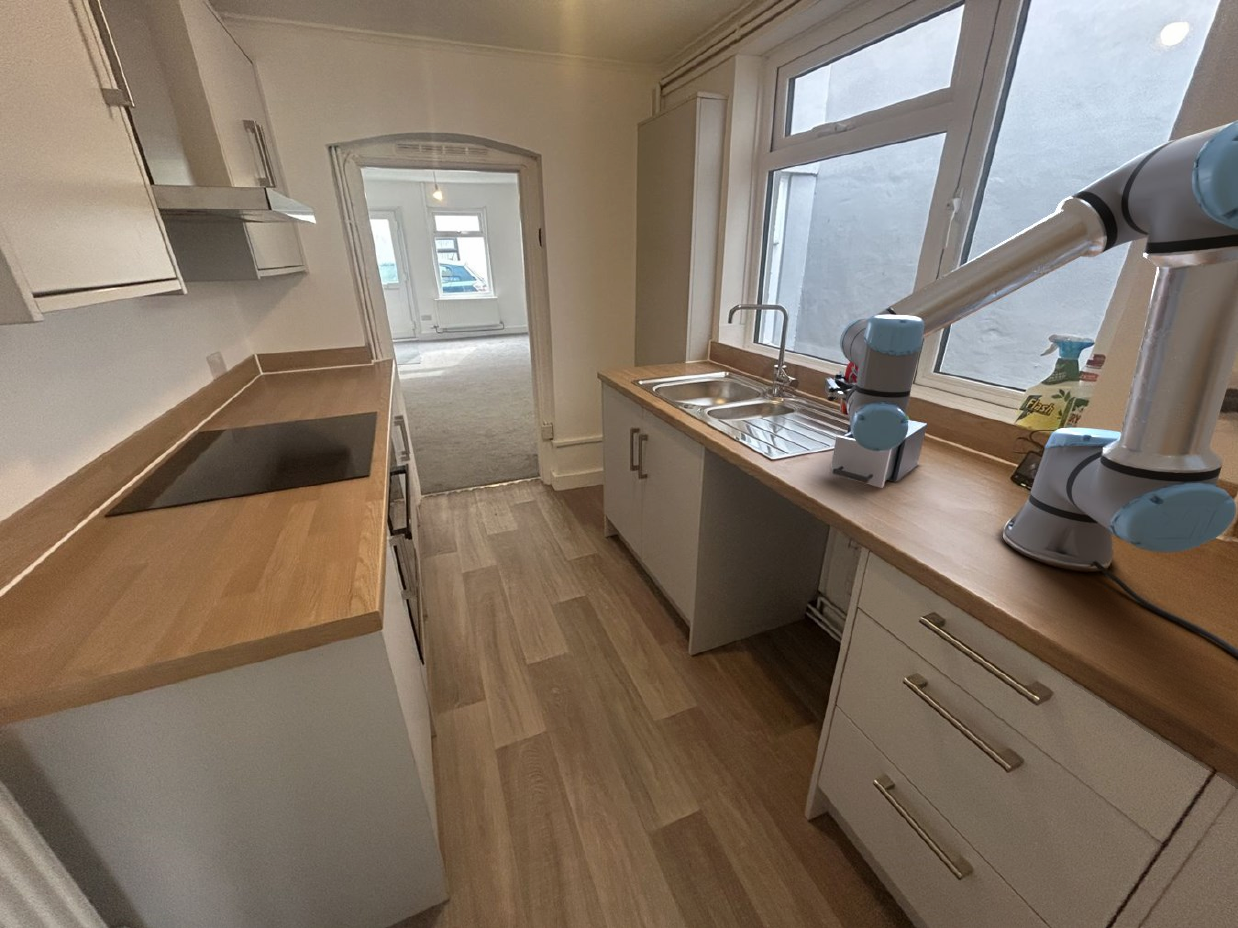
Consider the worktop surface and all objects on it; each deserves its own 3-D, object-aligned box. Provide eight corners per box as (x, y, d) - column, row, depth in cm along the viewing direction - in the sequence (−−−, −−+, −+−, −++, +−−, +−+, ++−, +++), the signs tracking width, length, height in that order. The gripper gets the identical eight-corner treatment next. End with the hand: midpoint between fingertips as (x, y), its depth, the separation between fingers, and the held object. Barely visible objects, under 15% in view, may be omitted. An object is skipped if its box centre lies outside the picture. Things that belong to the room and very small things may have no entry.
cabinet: (896, 482, 118) (906, 437, 114) (840, 467, 127) (848, 425, 123) (917, 465, 128) (927, 423, 123) (864, 452, 137) (872, 413, 133)
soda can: (832, 416, 102) (841, 359, 97) (845, 409, 106) (855, 354, 102) (867, 422, 97) (879, 363, 93) (879, 415, 102) (891, 358, 97)
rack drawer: (874, 493, 110) (883, 453, 106) (822, 477, 118) (828, 440, 115) (903, 471, 122) (912, 434, 118) (853, 458, 130) (860, 423, 127)
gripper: (806, 420, 88) (808, 392, 108) (931, 431, 82) (909, 399, 102) (812, 379, 86) (813, 358, 105) (942, 387, 79) (917, 363, 99)
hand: (860, 378), depth 103 cm, fingers closed on soda can, 7 cm apart
